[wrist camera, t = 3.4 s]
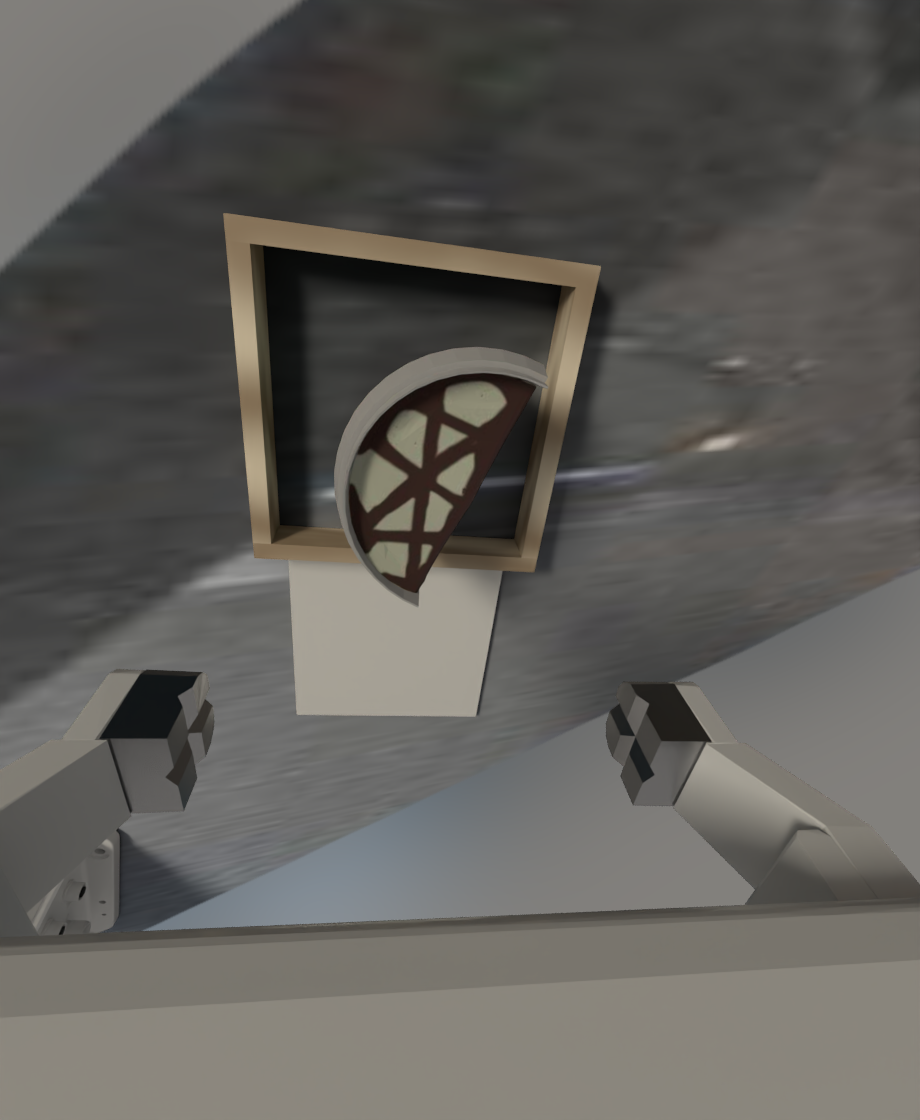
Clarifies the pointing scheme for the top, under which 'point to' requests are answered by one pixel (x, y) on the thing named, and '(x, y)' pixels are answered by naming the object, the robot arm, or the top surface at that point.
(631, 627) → the top surface
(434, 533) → the food container
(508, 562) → the frame
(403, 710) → the mat
